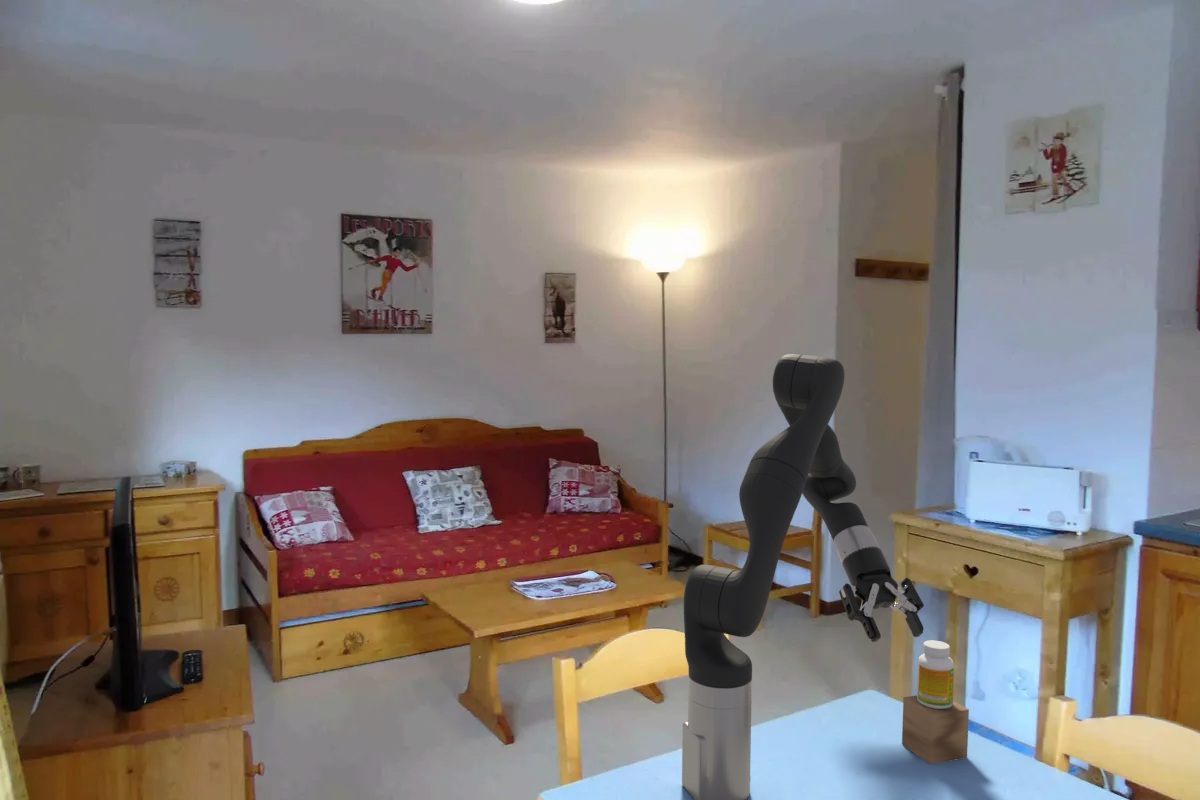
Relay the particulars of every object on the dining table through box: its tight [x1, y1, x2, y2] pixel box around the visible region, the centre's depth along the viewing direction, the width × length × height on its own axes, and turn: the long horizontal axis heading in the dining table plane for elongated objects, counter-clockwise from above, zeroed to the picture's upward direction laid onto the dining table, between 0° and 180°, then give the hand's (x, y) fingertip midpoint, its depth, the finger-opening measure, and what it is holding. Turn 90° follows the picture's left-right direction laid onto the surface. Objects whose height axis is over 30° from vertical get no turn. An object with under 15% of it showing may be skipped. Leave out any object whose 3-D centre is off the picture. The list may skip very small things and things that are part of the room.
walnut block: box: [901, 694, 970, 765], centre depth 137 cm, size 7×7×8 cm
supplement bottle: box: [916, 639, 955, 709], centre depth 136 cm, size 5×5×10 cm
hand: (898, 637), depth 146 cm, fingers open, 8 cm apart
